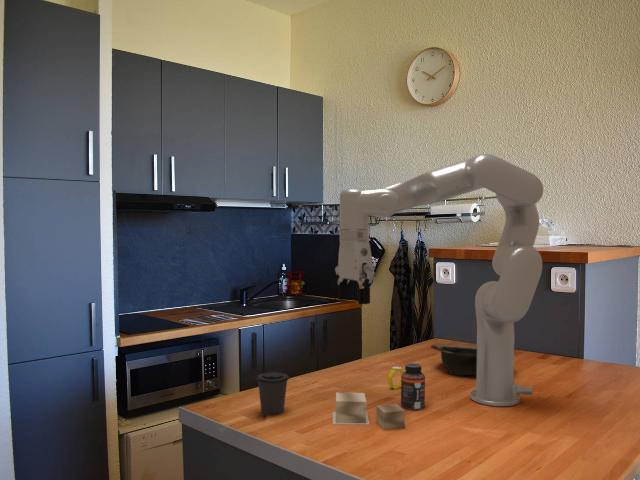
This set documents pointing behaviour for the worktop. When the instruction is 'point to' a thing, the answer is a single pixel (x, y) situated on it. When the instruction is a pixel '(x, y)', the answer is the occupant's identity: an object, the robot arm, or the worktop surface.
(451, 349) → the black cooking pot
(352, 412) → the maple block
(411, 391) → the supplement bottle
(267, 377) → the coffee cup
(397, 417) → the oak block
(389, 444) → the worktop surface
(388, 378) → the watch
